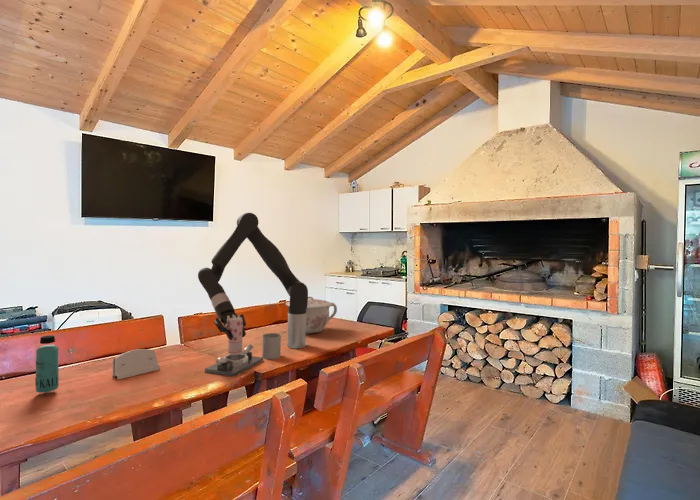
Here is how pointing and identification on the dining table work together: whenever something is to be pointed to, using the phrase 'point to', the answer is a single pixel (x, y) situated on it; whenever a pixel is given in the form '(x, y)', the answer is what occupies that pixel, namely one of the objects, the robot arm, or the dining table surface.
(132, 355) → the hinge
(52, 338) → the beverage bottle
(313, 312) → the chamber pot
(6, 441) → the dining table surface
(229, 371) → the base
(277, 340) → the cup
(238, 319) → the beverage can
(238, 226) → the robot arm
